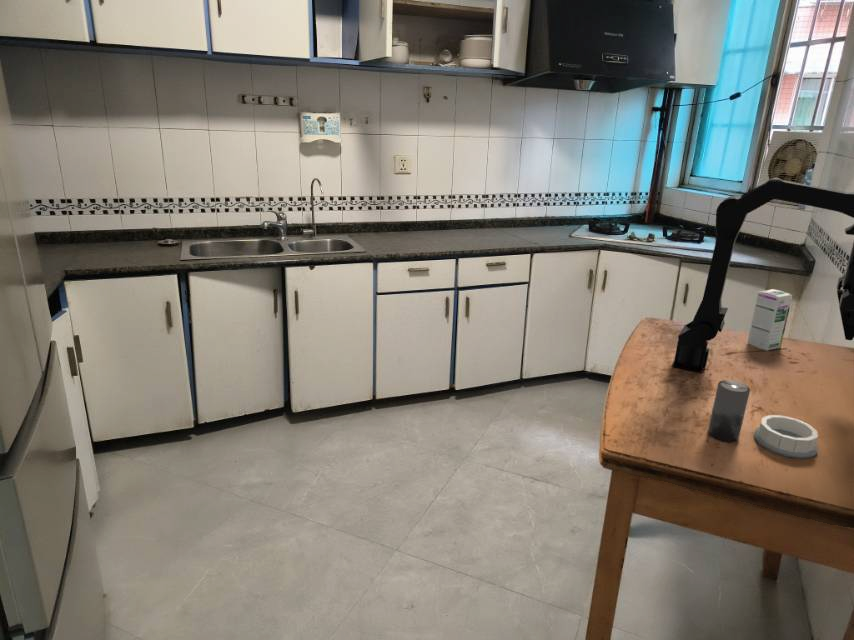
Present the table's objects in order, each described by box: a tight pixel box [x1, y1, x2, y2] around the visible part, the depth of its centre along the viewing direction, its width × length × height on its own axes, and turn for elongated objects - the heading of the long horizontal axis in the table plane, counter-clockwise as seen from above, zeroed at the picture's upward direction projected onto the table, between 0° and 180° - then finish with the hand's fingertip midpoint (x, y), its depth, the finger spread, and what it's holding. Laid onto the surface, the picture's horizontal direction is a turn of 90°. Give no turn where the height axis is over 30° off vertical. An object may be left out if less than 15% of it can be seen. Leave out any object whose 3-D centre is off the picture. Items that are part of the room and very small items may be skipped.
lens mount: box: [753, 414, 819, 459], centre depth 107 cm, size 10×10×3 cm
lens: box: [707, 379, 751, 443], centre depth 108 cm, size 5×5×10 cm
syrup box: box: [747, 288, 793, 352], centre depth 151 cm, size 6×6×14 cm
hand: (847, 333), depth 121 cm, fingers open, 9 cm apart
